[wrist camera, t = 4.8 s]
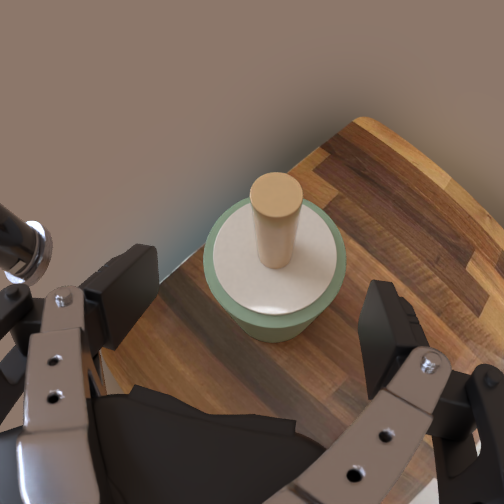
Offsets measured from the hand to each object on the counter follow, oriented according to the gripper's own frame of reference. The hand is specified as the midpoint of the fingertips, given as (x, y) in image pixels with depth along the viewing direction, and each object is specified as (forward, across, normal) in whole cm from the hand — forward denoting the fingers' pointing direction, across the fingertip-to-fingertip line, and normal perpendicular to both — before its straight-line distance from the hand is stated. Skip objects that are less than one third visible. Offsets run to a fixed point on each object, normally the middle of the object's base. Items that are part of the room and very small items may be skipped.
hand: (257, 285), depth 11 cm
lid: (+10, 0, +3) cm, 10 cm away
